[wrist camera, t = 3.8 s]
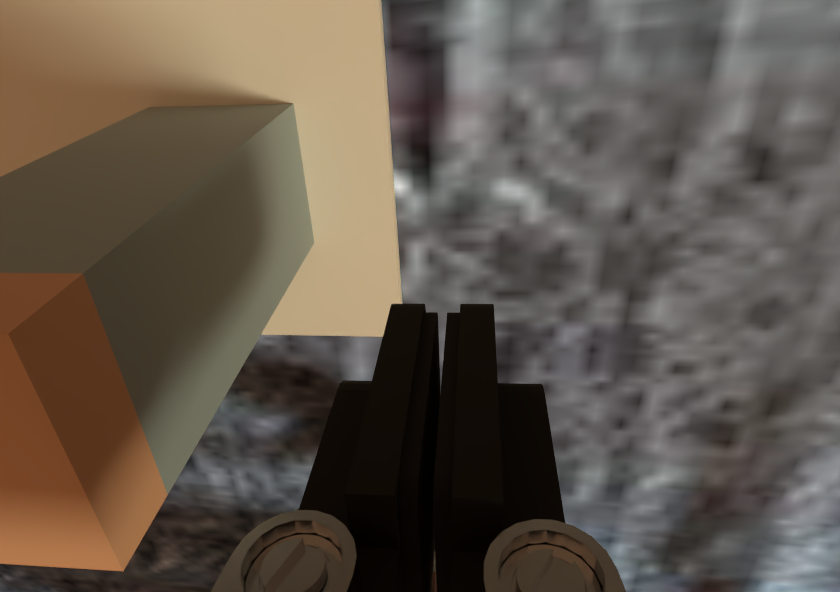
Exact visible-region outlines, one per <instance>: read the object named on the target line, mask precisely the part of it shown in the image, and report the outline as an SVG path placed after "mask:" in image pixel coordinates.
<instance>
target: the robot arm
mask: <svg viewBox="0 0 840 592" xmlns="http://www.w3.org/2000/svg"><path fill="white" fill-rule="evenodd" d="M434 553H435V562H436V583H437V592H626V590H625V587H624V585H623V582H622V580H621V577H620V575H619V572H618V570H617V568H616V566H615V564H614V563H613V561H612V559H611V557H610V556H609V554H608V552H607V551H606V550H605V549H604V548H603V547H602V546H601V545H600V544H599V543H598V542H597V541H596V540H595V539H594V538H593V537H592V536H590V535H589V534H587V533H585V532H584V531H582V530H580V529H578V528H577V527H575V526H573V525H570V524H566V523H565V519H564V513H563V507H562V500H561V494H560V488H559V481H558V475H557V469H556V462H555V456H554V450H553V443H552V437H551V431H550V424H549V418H548V412H547V405H546V399H545V393H544V388H543V386H542V384H503V383H498V382H497V362H496V342H495V323H494V305H493V304H461V305H460V313H447V323H446V336H445V348H444V360H443V372H442V384H441V397H440V367H439V336H438V314H437V313H426V309H425V304H391V307H390V311H389V315H388V319H387V323H386V327H385V331H384V335H383V339H382V343H381V347H380V351H379V355H378V359H377V363H376V367H375V371H374V375H373V379H372V381H342V382H341V383H340V385H339V388H338V390H337V393H336V396H335V399H334V402H333V406H332V409H331V412H330V415H329V418H328V421H327V424H326V427H325V430H324V433H323V437H322V440H321V443H320V446H319V449H318V452H317V455H316V458H315V461H314V464H313V467H312V471H311V474H310V477H309V480H308V483H307V486H306V489H305V492H304V495H303V498H302V502H301V505H300V508H299V510H296V511H291V512H287V513H282V514H279V515H277V516H275V517H272V518H270V519H268V520H266V521H264V522H262V523H261V524H259V525H258V526H257V527H256V528H254V529H253V530H252V531H251V532H249V533H248V534H247V535H246V536H245V537H244V538H243V540H242V541H241V542H240V544H239V545H238V546H237V547H236V549H235V550H234V551H233V553H232V555H231V557H230V558H229V560H228V562H227V564H226V565H225V567H224V569H223V570H222V572H221V574H220V576H219V577H218V579H217V581H216V582H215V584H214V586H213V588H212V589H211V591H210V592H432V582H433V567H434Z"/></svg>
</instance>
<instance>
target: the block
mask: <svg viewBox="0 0 840 592" xmlns="http://www.w3.org/2000/svg"><path fill="white" fill-rule="evenodd" d="M313 244H314V237H313V230H312V223H311V217H310V210H309V203H308V197H307V190H306V183H305V177H304V170H303V163H302V157H301V150H300V143H299V137H298V130H297V123H296V117H295V110H294V104H255V105H215V106H175V107H148V108H146V109H144V110H142V111H139V112H137V113H135V114H133V115H131V116H129V117H127V118H125V119H122V120H120V121H118V122H116V123H114V124H112V125H110V126H107V127H105V128H103V129H101V130H99V131H97V132H95V133H93V134H90V135H88V136H86V137H84V138H82V139H80V140H78V141H76V142H73V143H71V144H69V145H67V146H65V147H63V148H61V149H59V150H56V151H54V152H52V153H50V154H48V155H46V156H44V157H42V158H39V159H37V160H35V161H33V162H31V163H29V164H27V165H24V166H22V167H20V168H18V169H16V170H14V171H12V172H10V173H7V174H5V175H3V176H1V177H0V564H14V565H30V566H46V567H61V568H77V569H93V570H109V571H124V569H125V568H126V566H127V564H128V562H129V561H130V559H131V557H132V556H133V554H134V552H135V550H136V549H137V547H138V545H139V544H140V542H141V540H142V538H143V537H144V535H145V533H146V531H147V530H148V528H149V526H150V525H151V523H152V521H153V519H154V518H155V516H156V514H157V513H158V511H159V509H160V507H161V506H162V504H163V502H164V500H165V499H166V497H167V495H168V494H169V492H170V490H171V488H172V487H173V485H174V483H175V482H176V480H177V478H178V476H179V475H180V473H181V471H182V470H183V468H184V466H185V464H186V463H187V461H188V459H189V457H190V456H191V454H192V452H193V451H194V449H195V447H196V445H197V444H198V442H199V440H200V439H201V437H202V435H203V433H204V432H205V430H206V428H207V426H208V425H209V423H210V421H211V420H212V418H213V416H214V414H215V413H216V411H217V409H218V408H219V406H220V404H221V402H222V401H223V399H224V397H225V396H226V394H227V392H228V390H229V389H230V387H231V385H232V383H233V382H234V380H235V378H236V377H237V375H238V373H239V371H240V370H241V368H242V366H243V365H244V363H245V361H246V359H247V358H248V356H249V354H250V352H251V351H252V349H253V347H254V346H255V344H256V342H257V340H258V339H259V337H260V335H261V334H262V332H263V330H264V328H265V327H266V325H267V323H268V322H269V320H270V318H271V316H272V315H273V313H274V311H275V309H276V308H277V306H278V304H279V303H280V301H281V299H282V297H283V296H284V294H285V292H286V291H287V289H288V287H289V285H290V284H291V282H292V280H293V278H294V277H295V275H296V273H297V272H298V270H299V268H300V266H301V265H302V263H303V261H304V260H305V258H306V256H307V254H308V253H309V251H310V249H311V247H312V246H313Z"/></svg>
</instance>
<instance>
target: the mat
mask: <svg viewBox="0 0 840 592" xmlns="http://www.w3.org/2000/svg"><path fill="white" fill-rule="evenodd" d="M255 104H294V110H295V117H296V123H297V130H298V137H299V143H300V150H301V157H302V163H303V170H304V177H305V183H306V190H307V197H308V203H309V210H310V217H311V223H312V230H313V237H314V244H313V246H312V247H311V249H310V251H309V253H308V254H307V256H306V258H305V260H304V261H303V263H302V265H301V266H300V268H299V270H298V272H297V273H296V275H295V277H294V278H293V280H292V282H291V284H290V285H289V287H288V289H287V291H286V292H285V294H284V296H283V297H282V299H281V301H280V303H279V304H278V306H277V308H276V309H275V311H274V313H273V315H272V316H271V318H270V320H269V322H268V323H267V325H266V327H265V328H264V330H263V332H262V334H264V335H321V336H377V337H383V335H384V331H385V327H386V323H387V319H388V315H389V311H390V307H391V304H402V291H401V277H400V262H399V248H398V234H397V219H396V205H395V191H394V176H393V162H392V148H391V134H390V119H389V105H388V91H387V76H386V62H385V48H384V33H383V19H382V5H381V0H0V177H1V176H3V175H5V174H7V173H10V172H12V171H14V170H16V169H18V168H20V167H22V166H24V165H27V164H29V163H31V162H33V161H35V160H37V159H39V158H42V157H44V156H46V155H48V154H50V153H52V152H54V151H56V150H59V149H61V148H63V147H65V146H67V145H69V144H71V143H73V142H76V141H78V140H80V139H82V138H84V137H86V136H88V135H90V134H93V133H95V132H97V131H99V130H101V129H103V128H105V127H107V126H110V125H112V124H114V123H116V122H118V121H120V120H122V119H125V118H127V117H129V116H131V115H133V114H135V113H137V112H139V111H142V110H144V109H146V108H148V107H175V106H215V105H255Z"/></svg>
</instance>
